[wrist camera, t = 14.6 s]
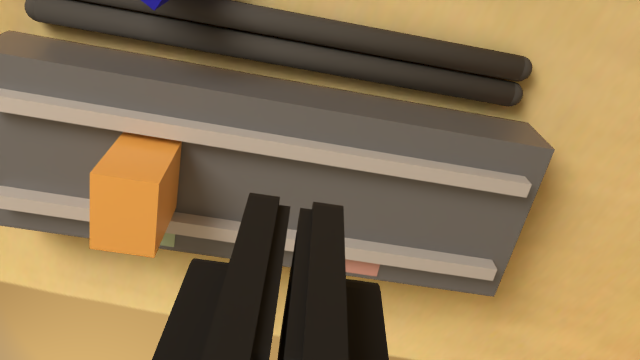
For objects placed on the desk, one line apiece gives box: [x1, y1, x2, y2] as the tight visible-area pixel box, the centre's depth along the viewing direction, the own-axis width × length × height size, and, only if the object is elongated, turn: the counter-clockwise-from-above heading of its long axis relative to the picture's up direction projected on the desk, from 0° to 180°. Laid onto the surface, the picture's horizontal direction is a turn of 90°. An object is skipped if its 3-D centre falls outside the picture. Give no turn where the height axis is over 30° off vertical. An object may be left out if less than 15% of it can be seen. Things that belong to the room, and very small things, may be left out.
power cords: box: [25, 0, 532, 106], centre depth 30 cm, size 27×3×1 cm, turn 79°
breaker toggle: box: [90, 132, 182, 258], centre depth 27 cm, size 3×4×5 cm
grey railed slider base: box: [0, 31, 554, 297], centre depth 31 cm, size 30×10×5 cm, turn 79°
